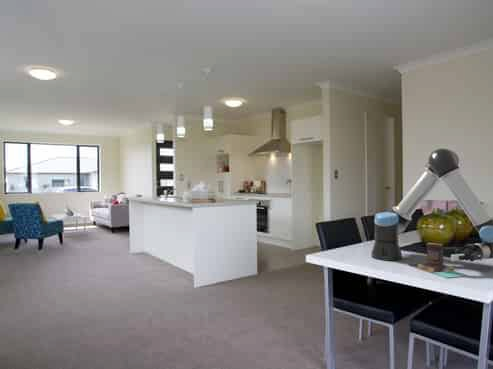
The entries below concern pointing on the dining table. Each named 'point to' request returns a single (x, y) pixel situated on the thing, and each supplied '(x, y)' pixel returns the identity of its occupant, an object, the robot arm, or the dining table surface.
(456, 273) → the pad
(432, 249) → the box
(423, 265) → the trap track
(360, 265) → the dining table surface
